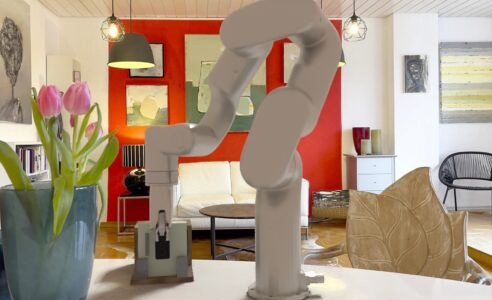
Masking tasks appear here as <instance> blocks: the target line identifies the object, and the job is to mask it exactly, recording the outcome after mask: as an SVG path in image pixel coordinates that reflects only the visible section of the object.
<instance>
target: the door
mask: <svg viewBox="0 0 492 300" xmlns="http://www.w3.org/2000/svg"><path fill="white" fill-rule="evenodd" d="M168 224H169V223H168ZM158 227H159V226H158ZM165 227H167V226H165ZM168 232H169V240H170V258H169V259H159V260H156V259H155V241H156V226H155V228H153V230H151V229H150V222H148V223H138V258H148V277H154V276H171V275H177V256H187V222H186V221H174V222H172V226H171V228H170V229H169V230H168ZM158 241H159V240H158Z"/></svg>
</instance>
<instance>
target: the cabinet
mask: <svg viewBox="0 0 492 300" xmlns="http://www.w3.org/2000/svg"><path fill="white" fill-rule="evenodd" d="M174 221H186V222H187V256H188V277H179V278H177V275H171V276H154V277H148V279H146V280H136V259H137V258H138V223H148V222H150V220H137V222H136V224H135V225H134V227H133V234H134V235H133V239H134V241H133V245H134V247H133V249H134V253H133V254H134V255H133V256H134V257H133V258H134V260H133V261H134V263H133V265H134V269H133V272H132V276H131V278H130V281H129V282H130V283H129V285H130V286H135V285H151V284H167V283H170V284H171V283H181V282H183V283H185V282H195V279H194V278H195V275H194V272H193V271H194V269H193V248H192V247H193V244H192V243H193V240H192V237H193V234H192V232H193V230H192V227H193V226H192V222H191V219H186V218H185V219H172V222H174Z"/></svg>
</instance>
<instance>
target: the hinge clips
mask: <svg viewBox="0 0 492 300" xmlns="http://www.w3.org/2000/svg"><path fill="white" fill-rule="evenodd" d="M179 277H188V256H177V278H179ZM146 279H148V258H137V259H136V280H146Z"/></svg>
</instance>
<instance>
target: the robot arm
mask: <svg viewBox="0 0 492 300" xmlns="http://www.w3.org/2000/svg"><path fill="white" fill-rule="evenodd" d="M219 38H220V41H221V43H222V45H223V46H224V47H225V48H224V50H223V51H222V53H221V54H220V56H219V57H218V58H217V61H216V62H215V64H214V66H213V67H212V69H211V70H210V72H209V74H208V76H207V80H206V81H207V85H208V87H209V88H208V89H209V92H210V101H209V105H208V107H207V110H206V111H205V114H204V115H203V117H202V118H201V120H200V121H199V123H190V122H179V123H175V124H170V125H167V124H166V125H163V124H161V125H160V124H159V125H158V124H157V125H150V126H147V127H146V128H145V131H144V168H145V169H144V173H145V174H144V175H145V176H144V179H145V181H144V182H145V183H144V185H145V187H146V186H147V187H149V221H150V229H151V230H153V228H155V226H156V241H155V259H156V260H159V259H169V258H170V240H169V232H168V230H169V229H170V228H171V226H172V220H173V217H174V215H173V213H174V186H178V185H179V157H182V158H185V157H186V158H187V157H189V158H190V157H206V156H208V155H210V154H212V153H213V152H214V151H215V150H216V149H217V148H218V147H219V146H220V145H221V144H222V141H223V140H224V139H225V137H226V135H227V134H228V132H229V131H230V129H231V127H232V125H233V123H234V121H235V119H236V115H237V112H238V108H239V104H240V99H241V97H242V96H243V94H244V93H245V91H246V90H247V88H248V86H249V85H250V84H251V82H252V81H253V79H254V77H255V75H256V74H257V73H258V71H259V70H260V68H261V67H262V65H263V63H264V62H265V61H266V59H267V58H268V56H269V54H270V53H271V51H272V48H273V46H274V42H276V41H280V40H283V39H285V38H286V39H289V41H291V42H292V43H293V44H295V45H296V46H297V48H298V49H299V50H300V51H299V52H300V53H299V56H298V58H297V59H296V61H295V63H294V64H293V66H292V68H291V71H290V75H289V78H288V80H287V81H286V85H285V86H284V85H283V86H279V87H277V88H274V89H273V90H271V91H270V92H268V93H267V94H266V95H265V97H264V98H263V100H262V101H261V103H260V104H259V106H258V109H257V111H256V113H255V117H254V119H253V121H252V124H251V127H250V129H249V132H248V135H247V137H246V139H245V143H244V145H243V148H242V151H241V154H240V158H239V172H240V175H241V177H242V179H243V181H244V182H245V183H246V184H247V185H248V186H250V187H251V188H253V189H255V191H256V192H255V201H254V232H255V233H254V244H255V245H254V253H255V255H254V258H255V259H254V260H255V261H254V263H255V264H254V265H255V266H254V267H255V269H254V270H255V272H254V273H255V275H254V276H255V281H254V282H252V283H251V284H249V285H248V289H247V293H248V295H249V296H250V298H253V299H255V300H305V299H306V298H307V297H308V296H309V295H310V288H309V286H310V284H315V285H316V284H324V283H325V275H324V274H323V273H315V272H314V271H310V272H309V271H307V272H305V271H304V270H302V243H301V242H302V238H301V237H302V236H301V235H302V229H301V228H302V227H301V226H302V225H301V224H302V223H301V222H302V221H301V218H302V214H301V213H302V212H301V211H302V209H301V208H302V205H301V204H302V186H303V175H304V174H303V171H304V170H303V161H302V158H301V157H302V156H301V155H300V153H299V152H298V150H297V147H298V145H299V143H300V140H301V138H304V137H307V136H308V135H309V134H311V133H312V132H313V131H314V129H315V128H316V126H317V123H318V122H319V118H320V115H321V112H322V109H323V107H324V105H325V102H326V100H327V97H328V96H329V95H328V94H329V92H330V89H331V86H332V84H333V81H334V78H335V76H336V73H337V70H338V68H339V65H340V62H341V57H342V51H343V49H342V41H341V37H340V34H339V32H338V30H337V29H336V27H335V26H334V24H333V23H332V22H331V20H330V19H329V18H328V17H327V14H325V12H324V10H323V9H322V8H321V6H320V4H319V2H318V1H317V0H257V1H255V2H252V3H248V4H246V5H244V6H242V7H240V8H237V9H235V10H234V11H232V12H231V13H229V14H228V15H227V16H226V17H225V18H224V20H223V21H222V22H221V25H220V28H219ZM168 223H169V224H168ZM158 226H159V227H158ZM165 226H167V227H165ZM158 240H159V241H158Z"/></svg>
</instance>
